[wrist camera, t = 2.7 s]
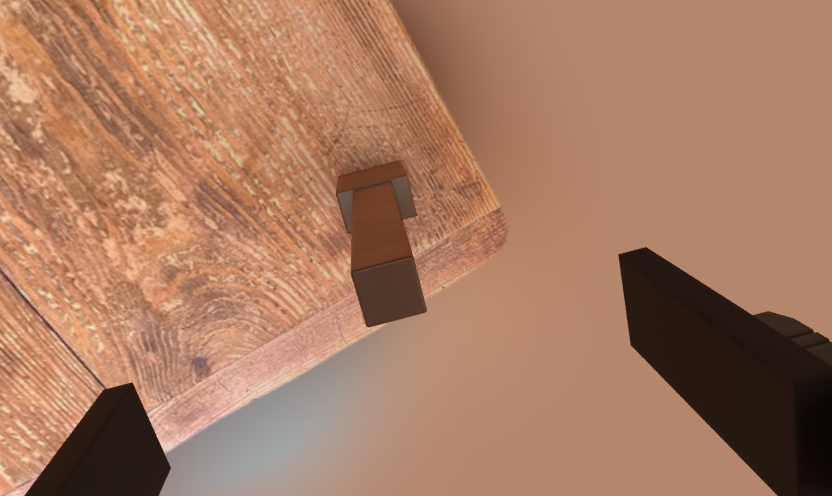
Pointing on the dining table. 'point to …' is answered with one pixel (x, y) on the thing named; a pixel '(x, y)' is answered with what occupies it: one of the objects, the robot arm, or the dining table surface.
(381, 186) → the stirring stick
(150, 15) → the dining table surface
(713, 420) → the robot arm
